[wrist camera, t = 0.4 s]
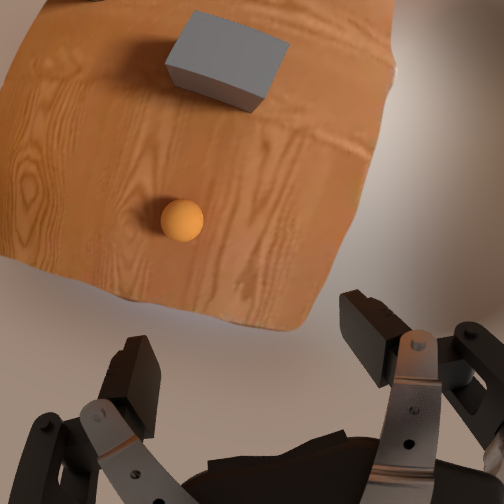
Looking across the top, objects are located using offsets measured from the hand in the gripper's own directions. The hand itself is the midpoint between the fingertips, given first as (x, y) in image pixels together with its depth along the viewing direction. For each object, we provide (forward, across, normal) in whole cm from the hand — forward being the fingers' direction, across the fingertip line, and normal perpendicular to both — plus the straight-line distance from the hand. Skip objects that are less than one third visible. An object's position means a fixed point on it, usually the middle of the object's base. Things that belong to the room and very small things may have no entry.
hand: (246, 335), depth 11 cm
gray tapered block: (+27, -4, -17) cm, 32 cm away
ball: (+24, +4, 0) cm, 24 cm away
